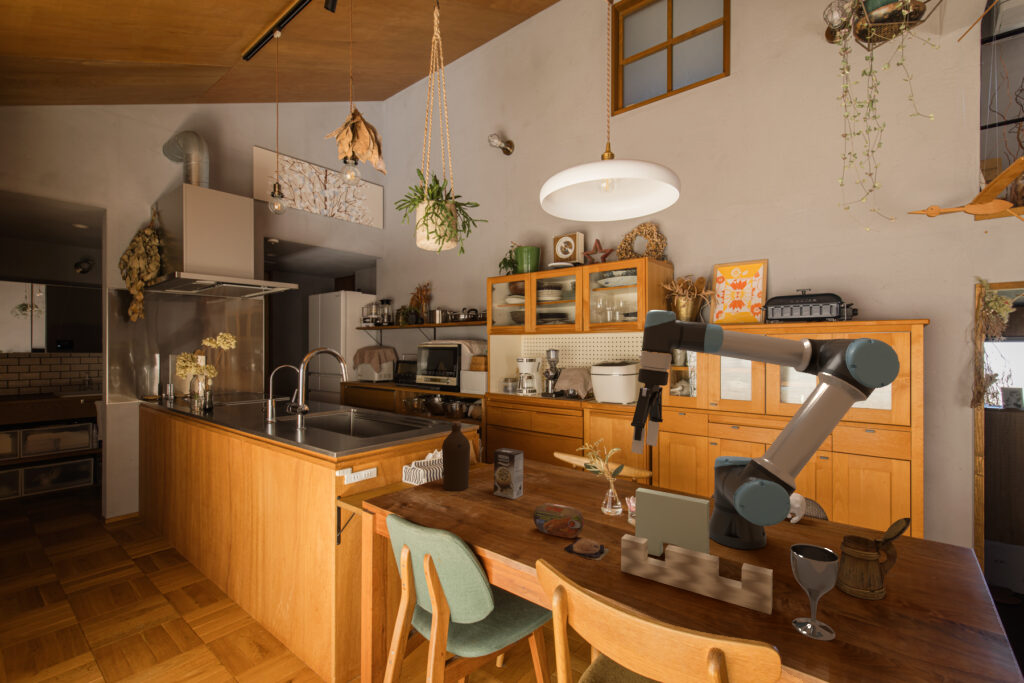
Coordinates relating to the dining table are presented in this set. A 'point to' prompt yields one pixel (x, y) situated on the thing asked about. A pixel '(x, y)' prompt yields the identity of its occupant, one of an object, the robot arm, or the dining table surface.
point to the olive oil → (456, 459)
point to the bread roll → (587, 549)
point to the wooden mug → (868, 562)
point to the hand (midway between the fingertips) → (644, 449)
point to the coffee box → (508, 473)
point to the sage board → (671, 521)
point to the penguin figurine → (797, 507)
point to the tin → (558, 520)
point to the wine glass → (814, 584)
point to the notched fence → (698, 574)
